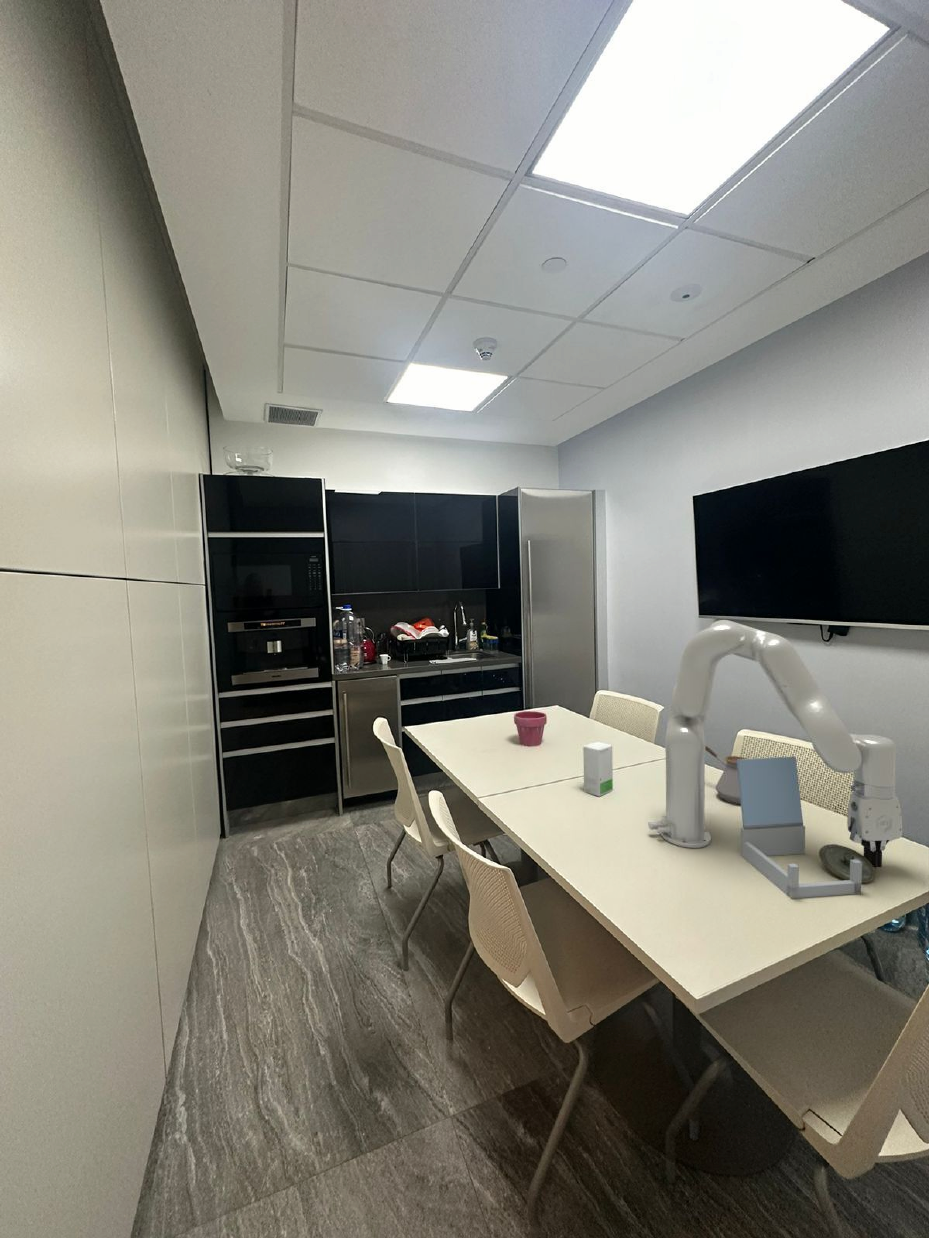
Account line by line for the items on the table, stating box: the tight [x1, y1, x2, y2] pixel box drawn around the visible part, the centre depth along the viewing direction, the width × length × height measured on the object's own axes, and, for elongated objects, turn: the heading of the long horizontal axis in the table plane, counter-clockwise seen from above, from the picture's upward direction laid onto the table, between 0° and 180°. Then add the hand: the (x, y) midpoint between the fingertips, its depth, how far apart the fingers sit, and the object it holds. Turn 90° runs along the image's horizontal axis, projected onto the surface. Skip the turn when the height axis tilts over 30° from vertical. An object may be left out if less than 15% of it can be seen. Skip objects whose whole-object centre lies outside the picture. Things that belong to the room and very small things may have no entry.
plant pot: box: [513, 710, 548, 747], centre depth 215 cm, size 14×14×13 cm
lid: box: [818, 843, 876, 884], centre depth 115 cm, size 11×10×5 cm
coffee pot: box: [705, 745, 747, 805], centre depth 159 cm, size 21×12×15 cm, turn 23°
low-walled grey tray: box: [740, 824, 862, 899], centre depth 115 cm, size 16×17×7 cm
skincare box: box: [582, 741, 614, 798], centre depth 163 cm, size 8×7×16 cm
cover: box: [737, 756, 804, 829], centre depth 123 cm, size 15×17×1 cm
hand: (872, 864), depth 116 cm, fingers closed
